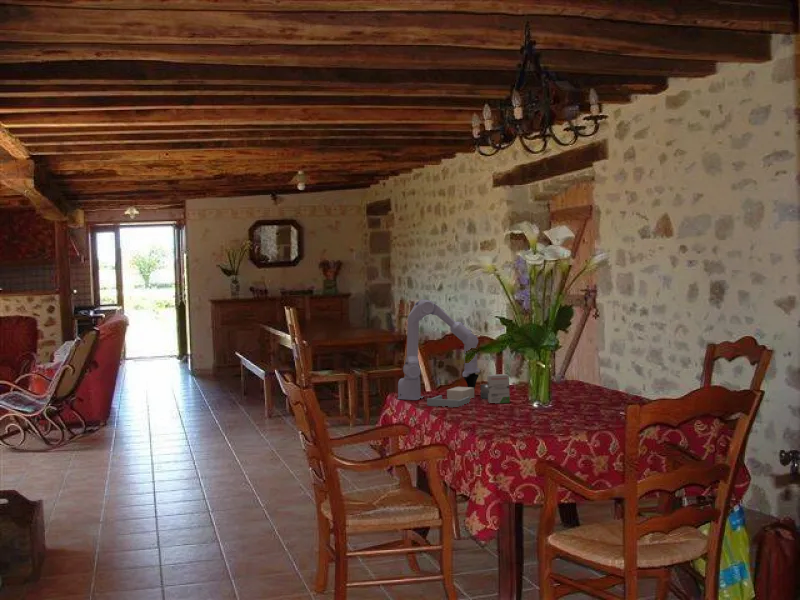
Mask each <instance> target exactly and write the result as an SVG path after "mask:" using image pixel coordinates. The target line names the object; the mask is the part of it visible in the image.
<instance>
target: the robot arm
mask: <svg viewBox="0 0 800 600" xmlns="http://www.w3.org/2000/svg"><path fill="white" fill-rule="evenodd" d="M429 315H433V316H437V317H438V318H439V319H440V320H441V321H442V322H444V323H445V325H447V326H449V328H450V329H449V330H450V332H451V333H452V334H453V335H454V336H455V337H457V338H458V339H459V340H460V341H461V342H462V343H463V349H464V350H463V354H464V355H463V357H464V358H463V361H464V370H463V372H462V377H463V379H464V380H465V382H466V385H467V386H466V387H472V388H474V391H475V390H476V383H477V380H478V378H479V375H480V374H479V373H480V372H481V370H480V367H478V353H477V354H476V355H475V357H474V358H473V359H472V360H471V361H470V362H469V363H465V353H466V351H468V350H470V349H471V348H476V347H477V348H478V344H479V339H478V336H477V335H476V334H474V333H472V330H471V329H469V328H467V327H466V326H465V323H464V322H462V321H461V322H460V321H456V320H454V319H453V318H452V317H451V316H450V315H448V313H446V311H444V310H443V308H442V307H440V306H439V305H437V303H434V302H433V301H432V300H430V299H426V298H423V299H420V300H418V301H417V302H415V303H414V306H413V307H412V309H411V311H410V312H409V314H408V315H407V327H406V328H407V333H406V334H407V335H406V357H405V361H404V363H405V364H404V365H403V367H402V371H403V374H404V377H401V378H400V379H399V380H398V383H397V395H398V397H397V400H407V401H408V400H409V401H418V400H420V398H421V399H423V397H424V398H425V395H424V396H423V395H422V396H421V392H422V391H421V373H422V372H421V368H420V366H419V365H420V361H419V329H420V328H419V326H420V325H419V324H420V323H419V322H420V321H421V320H422V319H423V318H424V317H427V316H429Z"/></svg>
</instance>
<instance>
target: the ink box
mask: <svg viewBox="0 0 800 600" xmlns="http://www.w3.org/2000/svg"><path fill="white" fill-rule="evenodd" d="M486 378H487V384H488V400H487V402H488V403H489V404H490V403H495V404H510V403H511V395H510V375H508V374H507V373H504V374H502V373H501V374H487V377H486Z"/></svg>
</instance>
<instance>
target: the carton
mask: <svg viewBox="0 0 800 600" xmlns="http://www.w3.org/2000/svg"><path fill="white" fill-rule="evenodd" d="M466 397H470V399H471V398H474V399H475V390H474V388H472V387H468V386H454V387H451V388H449V389H446V399H448V400H461V399H463V398H466ZM471 400H472V399H471Z"/></svg>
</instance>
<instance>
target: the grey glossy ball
mask: <svg viewBox="0 0 800 600" xmlns="http://www.w3.org/2000/svg"><path fill="white" fill-rule="evenodd" d="M479 387H480V390H479V391H480V399H481V398H482V399H488V383H483V384H480V386H479ZM482 399H481V400H482Z"/></svg>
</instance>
